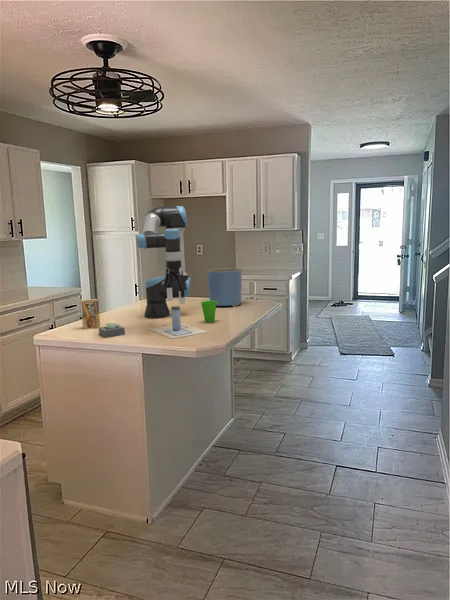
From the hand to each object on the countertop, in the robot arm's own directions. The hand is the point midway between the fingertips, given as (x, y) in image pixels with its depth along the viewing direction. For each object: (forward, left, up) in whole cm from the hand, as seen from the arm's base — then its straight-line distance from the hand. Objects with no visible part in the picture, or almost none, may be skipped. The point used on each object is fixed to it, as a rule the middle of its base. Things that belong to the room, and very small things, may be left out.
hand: (176, 302), depth 232 cm
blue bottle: (0, -1, -14) cm, 14 cm away
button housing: (-16, -29, -15) cm, 36 cm away
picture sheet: (+1, 0, -15) cm, 15 cm away
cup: (-8, +24, -15) cm, 29 cm away
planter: (-47, +60, -15) cm, 77 cm away
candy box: (-40, -32, -15) cm, 53 cm away
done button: (-16, -29, -13) cm, 36 cm away
